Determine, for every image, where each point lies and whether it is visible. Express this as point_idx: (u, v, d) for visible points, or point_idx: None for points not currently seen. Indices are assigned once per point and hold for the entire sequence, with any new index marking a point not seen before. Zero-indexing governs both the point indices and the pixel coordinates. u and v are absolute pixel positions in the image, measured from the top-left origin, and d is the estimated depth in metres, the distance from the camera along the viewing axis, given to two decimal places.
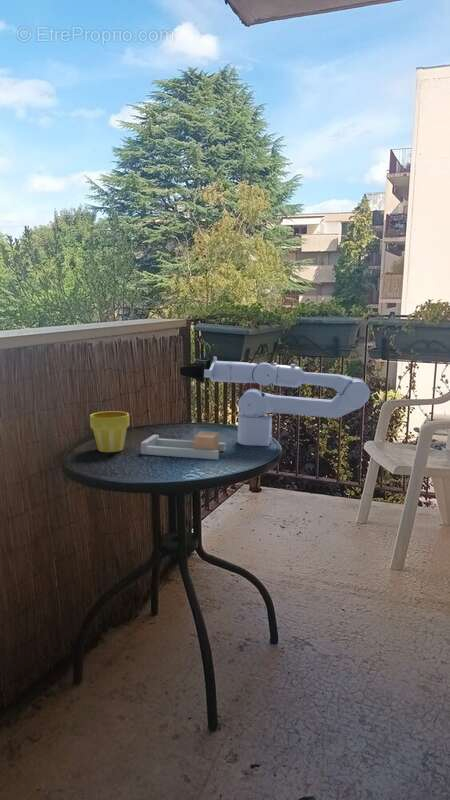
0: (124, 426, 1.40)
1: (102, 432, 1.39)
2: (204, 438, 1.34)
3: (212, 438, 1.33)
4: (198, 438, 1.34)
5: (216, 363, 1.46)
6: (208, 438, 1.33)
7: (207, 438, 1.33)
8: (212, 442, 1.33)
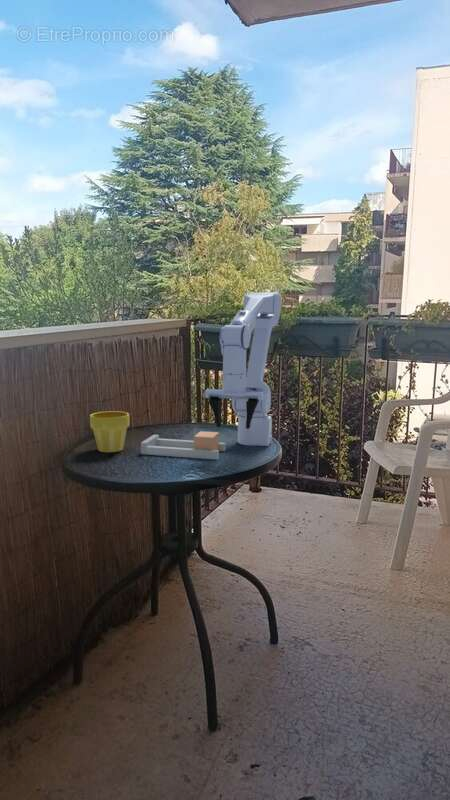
0: (124, 426, 1.40)
1: (102, 432, 1.39)
2: (204, 438, 1.34)
3: (212, 438, 1.33)
4: (198, 438, 1.34)
5: (238, 391, 1.30)
6: (208, 438, 1.33)
7: (207, 438, 1.33)
8: (212, 442, 1.33)
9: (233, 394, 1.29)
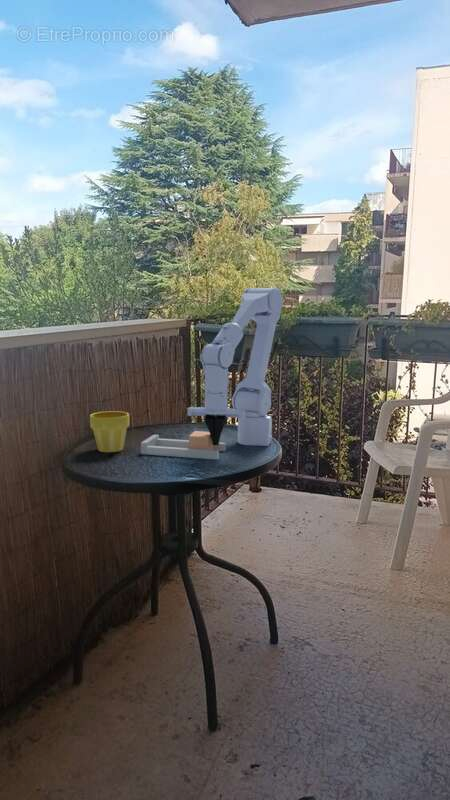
0: (124, 426, 1.40)
1: (102, 432, 1.39)
2: (199, 438, 1.34)
3: (207, 438, 1.33)
4: (193, 437, 1.34)
5: (220, 409, 1.32)
6: (203, 438, 1.34)
7: (202, 438, 1.34)
8: (207, 442, 1.34)
9: (215, 412, 1.31)
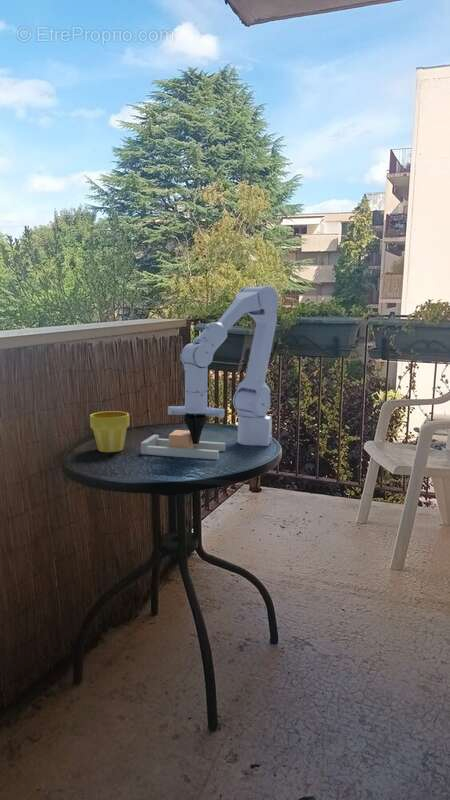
0: (124, 426, 1.40)
1: (102, 432, 1.39)
2: (179, 436, 1.35)
3: (186, 436, 1.34)
4: (173, 436, 1.35)
5: (200, 408, 1.33)
6: (182, 436, 1.35)
7: (181, 436, 1.35)
8: (186, 440, 1.35)
9: (194, 411, 1.32)
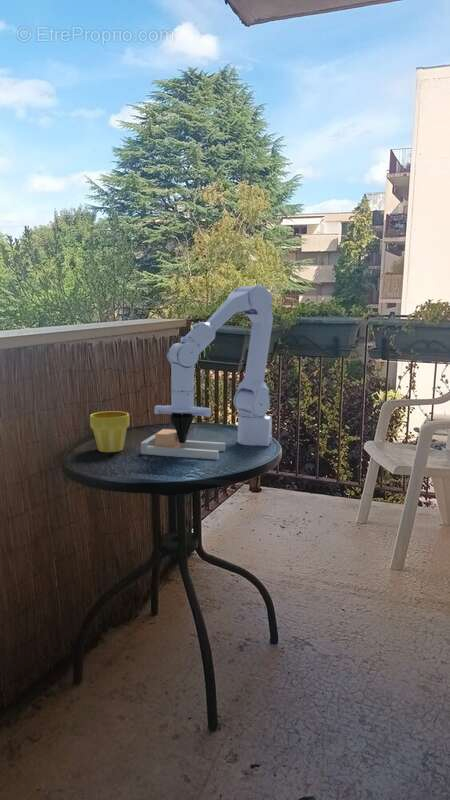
0: (124, 426, 1.40)
1: (102, 432, 1.39)
2: (165, 435, 1.36)
3: (173, 435, 1.35)
4: (160, 435, 1.36)
5: (186, 407, 1.34)
6: (169, 435, 1.35)
7: (168, 435, 1.35)
8: (173, 439, 1.35)
9: (180, 411, 1.33)
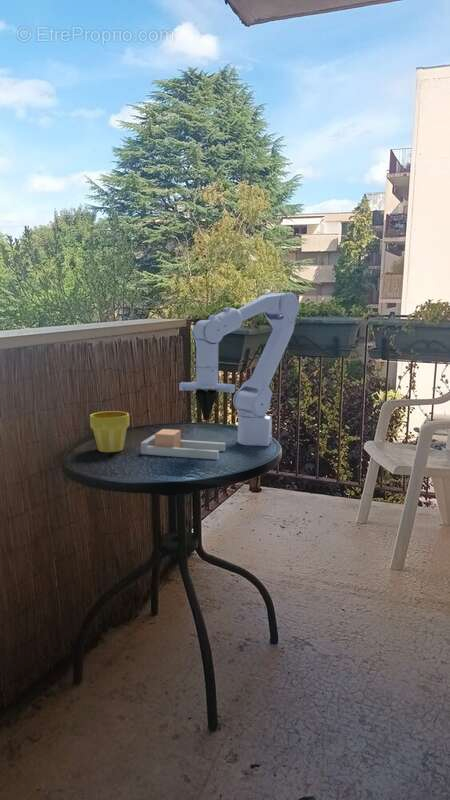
0: (124, 426, 1.40)
1: (102, 432, 1.39)
2: (165, 435, 1.36)
3: (172, 435, 1.35)
4: (159, 435, 1.36)
5: (211, 383, 1.36)
6: (169, 435, 1.35)
7: (168, 435, 1.35)
8: (173, 439, 1.35)
9: (205, 386, 1.35)
